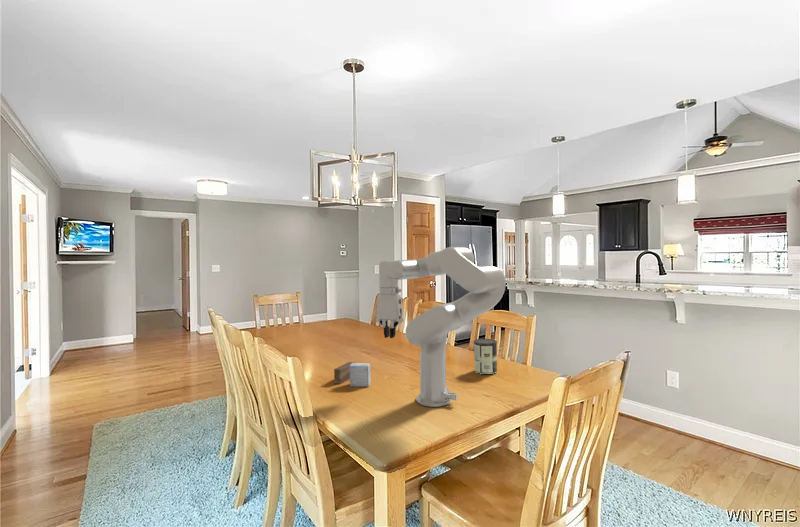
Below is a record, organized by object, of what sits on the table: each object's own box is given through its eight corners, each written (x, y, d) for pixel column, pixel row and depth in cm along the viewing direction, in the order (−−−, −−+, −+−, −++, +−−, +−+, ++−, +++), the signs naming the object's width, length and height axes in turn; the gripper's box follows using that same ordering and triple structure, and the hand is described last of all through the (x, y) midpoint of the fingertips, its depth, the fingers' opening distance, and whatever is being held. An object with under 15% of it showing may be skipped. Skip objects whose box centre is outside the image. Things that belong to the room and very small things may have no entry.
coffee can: (488, 367, 185) (488, 337, 185) (501, 373, 176) (501, 342, 175) (469, 370, 181) (469, 339, 181) (482, 376, 172) (481, 344, 171)
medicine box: (370, 383, 165) (370, 363, 165) (368, 387, 161) (368, 366, 160) (352, 383, 166) (351, 362, 166) (349, 386, 161) (349, 365, 161)
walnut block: (355, 375, 176) (355, 362, 176) (340, 383, 165) (340, 369, 165) (349, 374, 177) (349, 361, 177) (334, 383, 166) (334, 369, 166)
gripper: (410, 291, 156) (411, 336, 157) (375, 290, 163) (376, 334, 163) (403, 292, 150) (403, 340, 150) (367, 291, 156) (367, 337, 157)
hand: (389, 337), depth 157 cm, fingers closed
